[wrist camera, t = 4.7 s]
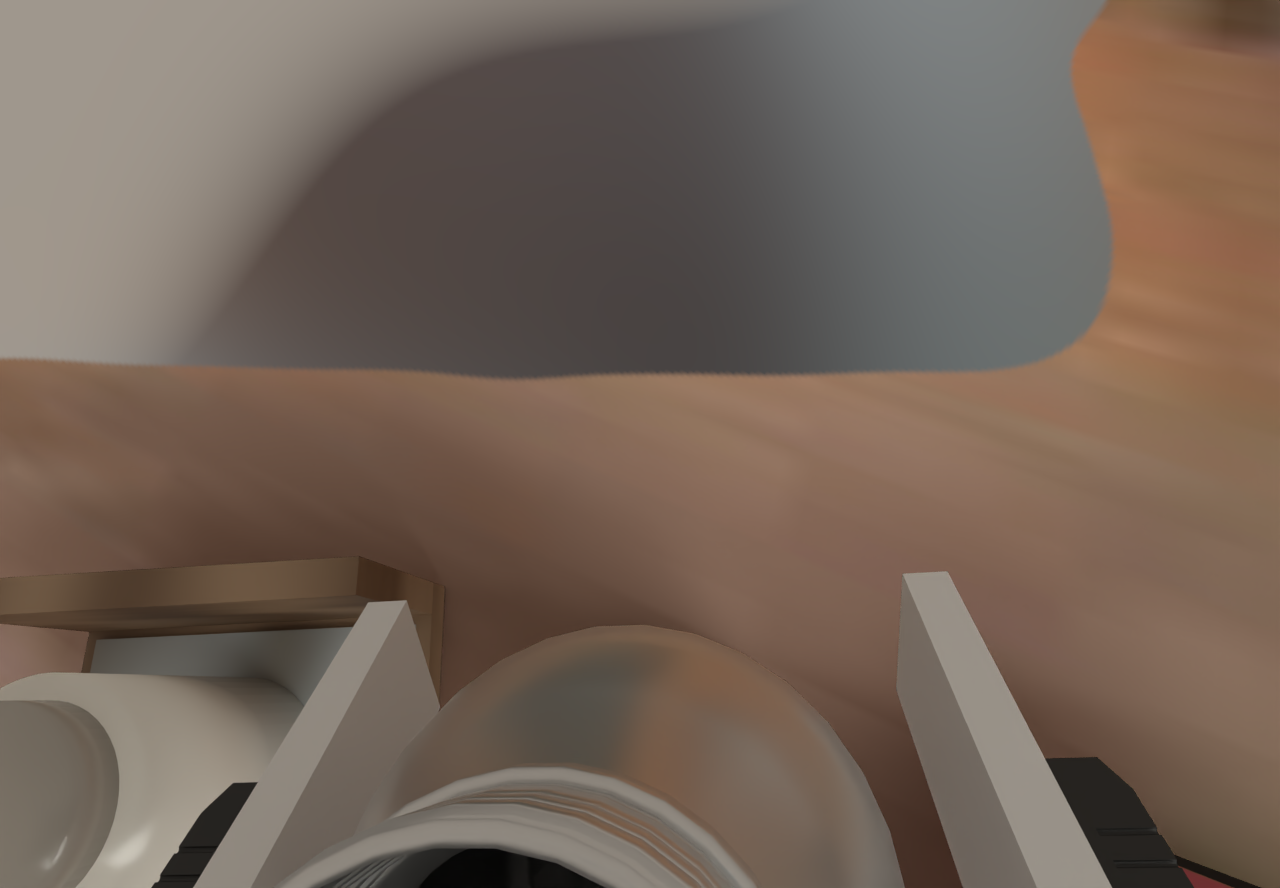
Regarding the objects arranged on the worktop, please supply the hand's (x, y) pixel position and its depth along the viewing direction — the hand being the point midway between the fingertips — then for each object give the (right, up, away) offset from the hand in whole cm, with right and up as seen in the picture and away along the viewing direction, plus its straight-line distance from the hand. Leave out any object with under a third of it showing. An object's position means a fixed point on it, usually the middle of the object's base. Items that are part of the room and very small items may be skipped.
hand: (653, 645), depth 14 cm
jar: (-13, -6, +9) cm, 17 cm away
